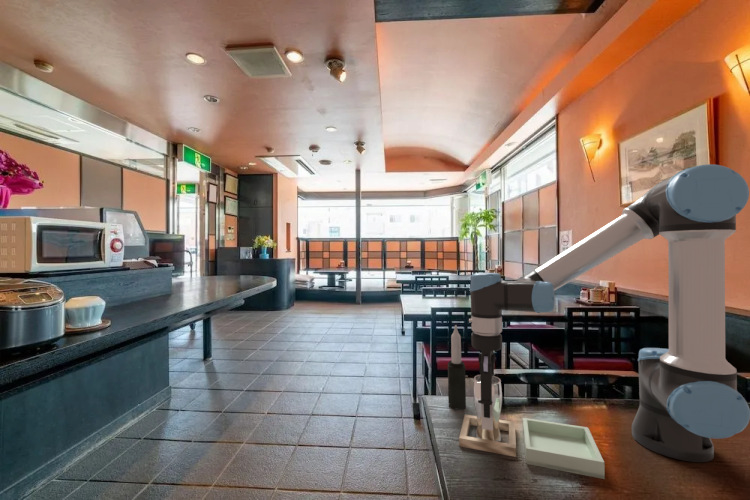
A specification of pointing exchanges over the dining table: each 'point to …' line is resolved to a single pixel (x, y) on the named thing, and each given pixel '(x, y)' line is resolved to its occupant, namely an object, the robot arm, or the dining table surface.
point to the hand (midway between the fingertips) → (488, 421)
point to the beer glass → (497, 403)
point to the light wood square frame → (488, 444)
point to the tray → (562, 448)
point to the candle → (456, 374)
